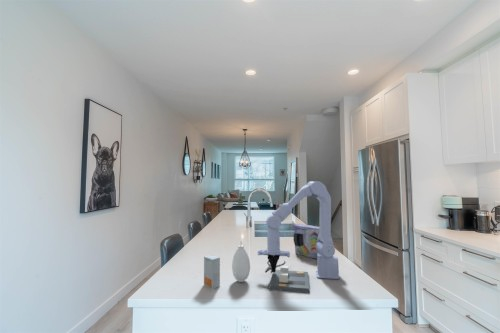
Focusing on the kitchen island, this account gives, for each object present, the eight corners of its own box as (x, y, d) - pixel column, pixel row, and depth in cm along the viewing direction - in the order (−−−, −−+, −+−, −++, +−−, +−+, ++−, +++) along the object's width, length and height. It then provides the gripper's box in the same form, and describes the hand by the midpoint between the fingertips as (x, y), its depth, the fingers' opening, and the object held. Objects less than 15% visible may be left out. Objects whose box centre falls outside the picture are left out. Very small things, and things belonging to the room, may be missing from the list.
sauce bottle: (234, 285, 108) (234, 242, 109) (230, 279, 115) (230, 238, 116) (252, 283, 110) (252, 241, 111) (247, 277, 118) (247, 237, 119)
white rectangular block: (288, 280, 109) (288, 272, 110) (287, 282, 106) (287, 275, 107) (279, 279, 110) (279, 272, 110) (279, 282, 107) (279, 274, 107)
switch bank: (307, 275, 120) (307, 271, 120) (309, 292, 101) (309, 288, 101) (273, 272, 123) (273, 269, 123) (268, 289, 104) (268, 285, 104)
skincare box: (203, 285, 109) (203, 256, 109) (211, 282, 112) (211, 254, 112) (211, 289, 104) (212, 259, 105) (220, 286, 107) (220, 257, 108)
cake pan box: (293, 253, 157) (292, 223, 158) (298, 251, 160) (298, 222, 161) (318, 260, 142) (318, 228, 143) (324, 258, 145) (323, 227, 146)
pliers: (285, 259, 142) (285, 272, 122) (285, 261, 142) (285, 274, 122) (267, 259, 143) (264, 271, 124) (267, 260, 143) (264, 273, 123)
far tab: (288, 272, 118) (288, 266, 118) (288, 274, 115) (288, 268, 115) (280, 272, 119) (280, 265, 119) (280, 274, 116) (280, 267, 116)
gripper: (256, 242, 116) (256, 273, 116) (289, 244, 114) (289, 275, 113) (259, 239, 123) (259, 268, 122) (289, 240, 120) (290, 270, 120)
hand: (273, 271), depth 118 cm, fingers closed
